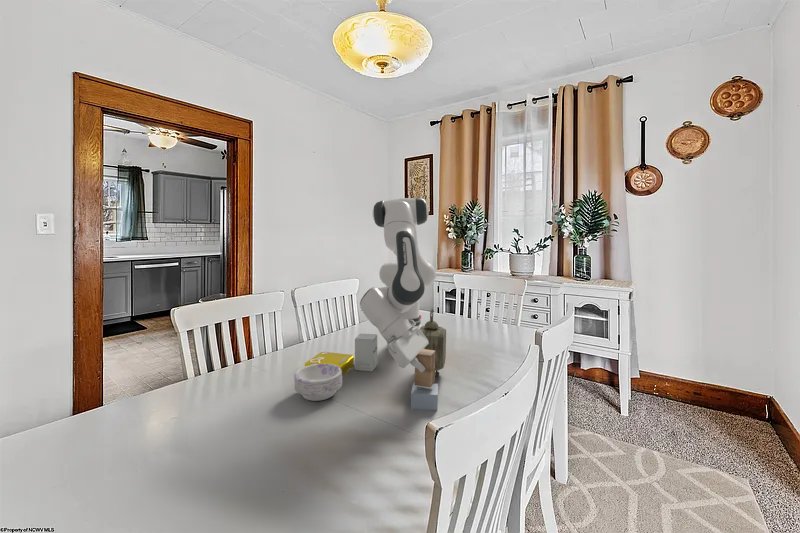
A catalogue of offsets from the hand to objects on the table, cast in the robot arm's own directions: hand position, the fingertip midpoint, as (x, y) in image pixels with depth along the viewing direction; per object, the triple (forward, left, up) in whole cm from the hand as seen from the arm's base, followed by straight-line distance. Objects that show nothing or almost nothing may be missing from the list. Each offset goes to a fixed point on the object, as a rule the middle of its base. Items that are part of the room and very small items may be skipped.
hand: (427, 366), depth 114 cm
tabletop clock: (-22, -5, -12) cm, 25 cm away
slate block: (0, -1, -12) cm, 12 cm away
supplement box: (-20, -31, -12) cm, 39 cm away
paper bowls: (+7, -35, -12) cm, 37 cm away
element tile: (-13, -43, -13) cm, 47 cm away
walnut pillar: (0, -1, -5) cm, 5 cm away
